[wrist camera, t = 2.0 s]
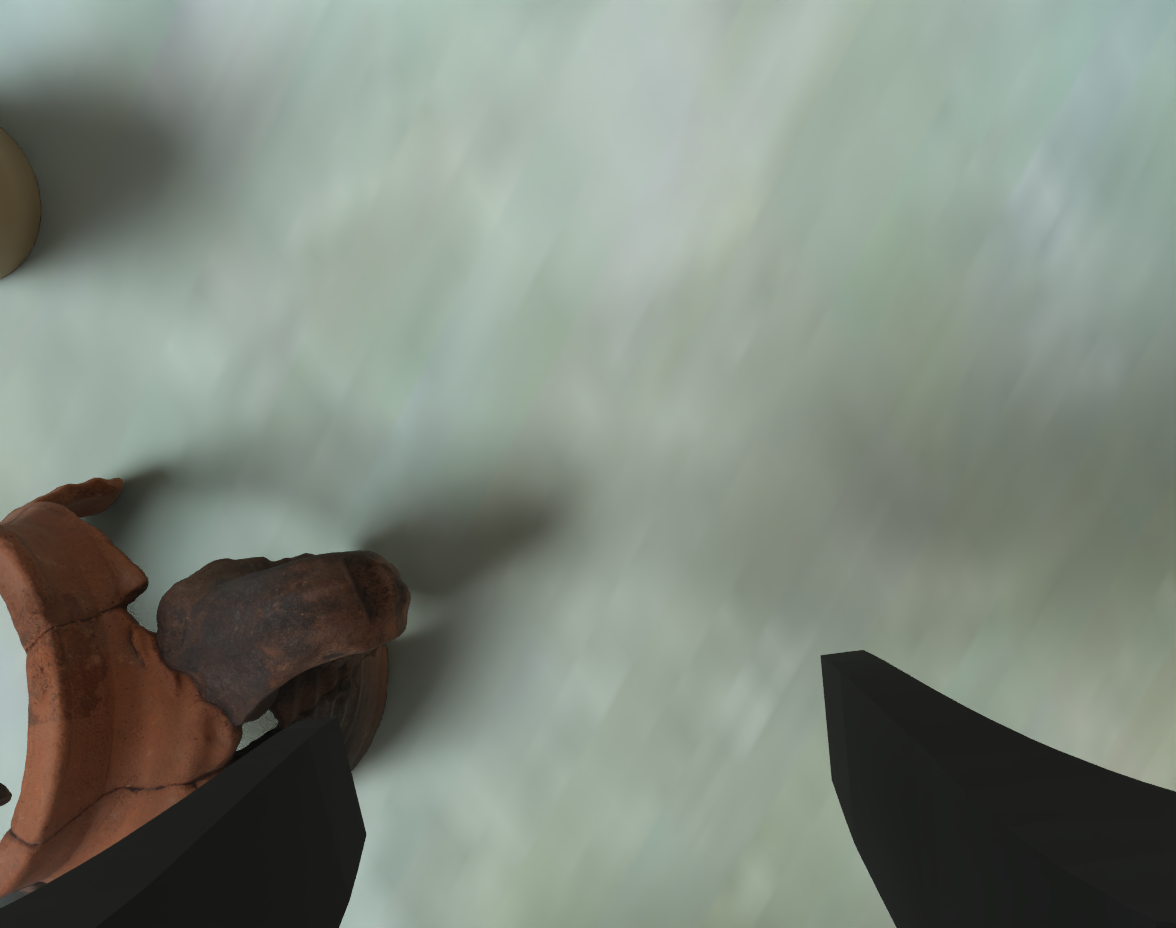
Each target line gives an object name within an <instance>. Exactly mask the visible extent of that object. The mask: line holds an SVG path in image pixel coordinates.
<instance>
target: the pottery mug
mask: <svg viewBox="0 0 1176 928" xmlns="http://www.w3.org/2000/svg"><path fill="white" fill-rule="evenodd" d="M123 485H124V483H123V480H122V479H120V478H113V479H110V480H106V479H102V478H93V479H90V480H88V481H86V482H84V483H81V484H67V485H63V486H60V487H58V488H56V489H54V490H53V491H51V492H50V493H48V494H46V495H44V496H41V497H38V498H36V499H35V500H33V501H31V502H29V503H27V504H26V505H24V506H22V507H20V508H17V509H15V510H13V511H12V512H11V513H9V514H8V515H7V516H6V517H5V518H4V519H3V520H2V521H1V522H0V594H1V596H2V598H3V600H4V601H5V603H6V605H7V608H8V611H9V613H10V615H11V618H12V621H13V624H14V627H15V629H16V630H17V632H18V635H19V638H20V641H21V644H22V646H23V648H24V650H25V651H26V654H27V659H26V672H27V683H28V693H29V707H28V741H27V756H26V763H25V771H24V776H23V781H22V787H21V793H20V797H19V800H18V802H17V805H16V808H15V811H14V815H13V818H12V821H11V828H10V829H9V831H7V832H6V834H5V835H4V837H3V839H2V840H1V842H0V898H2V897H4V896H6V895H9V894H11V893H14V892H16V891H19V892H22V893H24V894H25V895H27V894H29V893H31V892H33V891H35V890H36V889H38V888H40V887H42V886H43V885H45V884H47V883H49V882H51V881H52V880H54V879H56V878H58V877H59V876H61V875H63V874H65V873H67V872H68V871H70V870H72V869H74V868H75V867H77V866H79V865H81V864H82V863H84V862H86V861H87V860H89V859H91V858H92V857H94V856H96V855H97V854H99V853H101V852H102V851H104V850H105V849H107V848H109V847H110V846H112V845H114V844H115V843H117V842H118V841H120V840H121V839H123V838H124V837H126V836H127V835H129V834H130V833H132V832H133V831H135V830H136V829H138V828H139V827H141V826H142V825H144V824H146V823H147V822H149V821H150V820H152V819H153V818H155V817H156V816H158V815H159V814H161V813H162V812H164V811H165V810H167V809H168V808H170V807H171V806H173V805H174V804H176V803H177V802H179V801H180V800H182V799H183V798H185V797H186V796H188V795H189V794H190V793H192V792H193V791H195V790H196V789H198V788H199V787H200V786H202V785H203V784H205V783H206V782H208V781H209V780H210V779H212V778H213V777H215V776H216V775H217V774H219V773H220V772H222V771H223V770H225V769H226V768H227V767H229V766H230V765H232V764H233V763H234V762H236V761H237V760H239V759H240V758H242V757H243V756H244V755H246V754H247V753H249V752H250V751H252V750H253V749H254V748H256V747H257V746H259V745H260V744H262V743H263V742H265V741H266V740H268V739H269V738H271V737H272V736H274V735H275V734H277V733H278V732H280V731H282V730H283V729H285V728H287V727H289V726H290V725H292V724H294V723H296V722H298V721H305V720H312V719H320V718H328V717H336V716H338V720H339V724H340V728H341V732H342V736H343V741H344V745H345V749H346V753H347V757H348V761H349V765H350V769H351V771H352V770H353V769H354V768H355V767H356V765H357V764H358V762H359V761H360V760H361V759H362V757H363V756H364V755H365V753H366V752H367V750H368V748H369V747H370V744H371V742H372V740H373V738H374V735H375V733H376V731H377V729H378V727H379V724H380V722H381V719H382V715H383V712H384V709H385V705H386V698H387V690H386V687H387V681H388V654H387V648H386V646H385V645H384V644H387V643H389V642H391V641H392V640H394V639H396V638H397V637H399V636H400V635H401V634H402V633H403V632H404V631H405V629H406V625H407V613H408V608H409V604H410V592H409V590H408V588H407V586H406V585H405V584H404V583H403V582H402V581H401V578H400V575H399V572H398V570H397V569H396V568H395V566H393V565H392V564H390V563H389V562H388V561H386V560H385V559H384V558H382V557H381V556H380V555H378V554H376V553H374V552H370V551H361V550H358V551H347V552H335V553H326V554H320V555H313V554H308V553H304V554H302V555H299V556H296V557H293V558H284V559H281V560H278V561H270V560H268V559H267V558H265V557H253V558H246V559H238V560H232V559H229V558H225V559H219V560H215V561H213V562H211V563H208V564H207V565H205V566H204V567H203V568H201V569H200V570H198V571H197V572H195V573H194V574H192V575H191V576H189V577H188V578H185V579H183V580H181V581H179V582H177V583H175V584H174V585H173V586H172V587H171V588H170V589H169V590H168V591H167V592H166V593H165V595H164V596H163V597H162V599H161V601H160V603H159V606H158V611H157V618H156V619H157V623H158V624H157V627H158V631H157V633H154V632H151V631H149V630H147V629H145V628H144V627H142V626H140V624H139V623H138V622H137V620H136V619H135V618H134V617H133V616H132V615H131V614H130V613H129V612H128V611H127V606H128V604H129V603H131V602H134V601H135V599H136V598H137V597H138V596H139V595H140V594H142V593H143V592H144V591H145V590H146V589H147V587H148V578H147V577H146V575H145V573H144V572H143V571H142V570H141V569H140V568H139V567H138V566H137V565H136V564H134V563H132V561H131V560H130V559H129V558H128V557H127V556H126V555H125V554H124V553H123V552H122V551H121V550H119V549H118V548H117V547H116V546H114V544H113V543H112V541H111V540H110V539H109V538H108V537H107V536H106V535H105V534H104V533H103V532H102V531H101V530H100V529H98V528H96V527H94V526H92V525H90V524H88V523H86V522H85V521H83V520H82V519H80V518H81V517H85V516H90V515H94V514H98V513H100V512H102V511H104V510H106V509H107V508H109V506H110V505H111V504H112V503H113V502H114V501H115V500H116V499H117V497H118V495H119V494H120V492H121V491H122V489H123ZM268 709H269V710H270V711H271V712H272V713H273V714H274V717H275V718H276V719H277V720H278V721H279V722H278V725H277V726H276V727H275V728H274V729H272V730H270V731H268V732H267V733H265V734H264V735H263V736H261V737H260V738H258V739H257V740H255V741H253V742H251V743H250V744H249V745H248V746H246V747H245V748H243V749H241V750H239V751H236V749H237V747H238V745H239V743H240V741H241V739H242V733H243V732H242V725H243V724H244V723H246V722H249V721H254V720H256V719H258V718H259V717H261V716H262V715H263V714H264V713H265V712H266V711H267V710H268ZM11 797H12V794H11V793H10V791H9V790H8V789H7V788H6V786H4V785H3V784H1V783H0V806H2V805H4V804H6V803H8V802H9V801H10V800H11Z"/></svg>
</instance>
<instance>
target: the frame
mask: <svg viewBox="0 0 1176 928" xmlns="http://www.w3.org/2000/svg"><path fill="white" fill-rule="evenodd" d="M23 896H25V894H24V893H22V892H19V891H16V892H14V893H11V894H9V895H6V896H4V897H2V898H0V908H2V907H4V906H6V905H8V904H10V903H12V902H14V901H16V900H18V899H20V898H22V897H23Z"/></svg>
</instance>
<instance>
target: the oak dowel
mask: <svg viewBox="0 0 1176 928" xmlns="http://www.w3.org/2000/svg"><path fill="white" fill-rule="evenodd" d="M40 220H41V202H40V194H39V189H38V185H37V181H36V178H35V175H34V173H33V170H32V168H31V166H30V164H29V162H28V160H27V158H26V157H25V155H24V153H23V152H22V150H21V149H20V147H19V146H18V145H17V144H16V142H15V141H14V140H13V139H12V138H11V137H10V136H9V134H8V133H7V132H6V131H5V130H4V129H2V128H1V127H0V279H1V278H3V277H5V276H7V275H8V274H10V273H11V272H13V271H14V270H15V269H16V268H18V267H19V266H20V264H21V263H22V262H23V261H24V260H25V259H26V257H27V256H28V254H29V253H30V251H31V250H32V247H33V245H34V243H35V241H36V238H37V235H38V231H39V226H40Z"/></svg>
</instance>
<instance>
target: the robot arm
mask: <svg viewBox="0 0 1176 928" xmlns="http://www.w3.org/2000/svg"><path fill="white" fill-rule="evenodd" d="M821 665H822V676H823V687H824V698H825V709H826V720H827V732H828V743H829V754H830V765H831V776H832V782H833V784H834V787H835V790H836V793H837V796H838V799H839V802H840V805H841V808H842V811H843V813H844V816H845V819H846V822H847V824H848V827H849V830H850V833H851V835H852V838H853V841H854V843H855V845H856V847H857V850H858V852H859V854H860V856H861V858H862V860H863V862H864V864H865V866H866V868H867V870H868V872H869V874H870V876H871V878H872V880H873V882H874V884H875V886H876V888H877V890H878V892H879V894H880V896H881V898H882V900H883V902H884V904H885V906H886V908H887V910H888V912H889V914H890V916H891V918H892V919H893V921H894V923H895V925H896V927H897V928H1176V792H1175V791H1171V790H1168V789H1165V788H1161V787H1158V786H1155V785H1152V784H1148V783H1145V782H1142V781H1139V780H1136V779H1133V778H1130V777H1127V776H1124V775H1121V774H1118V773H1116V772H1113V771H1110V770H1107V769H1105V768H1102V767H1100V766H1097V765H1094V764H1092V763H1089V762H1087V761H1084V760H1081V759H1079V758H1076V757H1074V756H1071V755H1068V754H1066V753H1063V752H1061V751H1058V750H1056V749H1053V748H1051V747H1049V746H1046V745H1044V744H1042V743H1039V742H1037V741H1035V740H1033V739H1030V738H1028V737H1026V736H1024V735H1022V734H1020V733H1018V732H1016V731H1014V730H1011V729H1009V728H1007V727H1005V726H1003V725H1001V724H999V723H997V722H995V721H993V720H990V719H989V718H987V717H985V716H983V715H981V714H979V713H977V712H975V711H973V710H971V709H969V708H967V707H965V706H963V705H962V704H960V703H958V702H956V701H954V700H952V699H950V698H949V697H947V696H945V695H943V694H941V693H939V692H938V691H936V690H934V689H932V688H931V687H929V686H927V685H925V684H924V683H922V682H920V681H918V680H917V679H915V678H913V677H911V676H910V675H908V674H906V673H904V672H903V671H901V670H899V669H897V668H896V667H894V666H892V665H891V664H889V663H887V662H885V661H884V660H882V659H880V658H878V657H876V656H874V655H872V654H870V653H868V652H866V651H864V650H860V651H852V652H844V653H836V654H828V655H821ZM365 838H366V831H365V827H364V823H363V819H362V814H361V810H360V806H359V802H358V798H357V794H356V790H355V786H354V782H353V778H352V773H351V769H350V765H349V761H348V757H347V753H346V749H345V745H344V741H343V736H342V732H341V728H340V724H339V720H338V716H336V717H328V718H320V719H312V720H305V721H298V722H296V723H294V724H292V725H290V726H289V727H287V728H285V729H283V730H282V731H280V732H278V733H277V734H275V735H274V736H272V737H271V738H269V739H268V740H266V741H265V742H263V743H262V744H260V745H259V746H257V747H256V748H254V749H253V750H252V751H250V752H249V753H247V754H246V755H244V756H243V757H242V758H240V759H239V760H237V761H236V762H234V763H233V764H232V765H230V766H229V767H227V768H226V769H225V770H223V771H222V772H220V773H219V774H217V775H216V776H215V777H213V778H212V779H210V780H209V781H208V782H206V783H205V784H203V785H202V786H200V787H199V788H198V789H196V790H195V791H193V792H192V793H190V794H189V795H188V796H186V797H185V798H183V799H182V800H180V801H179V802H177V803H176V804H174V805H173V806H171V807H170V808H168V809H167V810H165V811H164V812H162V813H161V814H159V815H158V816H156V817H155V818H153V819H152V820H150V821H149V822H147V823H146V824H144V825H142V826H141V827H139V828H138V829H136V830H135V831H133V832H132V833H130V834H129V835H127V836H126V837H124V838H123V839H121V840H120V841H118V842H117V843H115V844H114V845H112V846H110V847H109V848H107V849H105V850H104V851H102V852H101V853H99V854H97V855H96V856H94V857H92V858H91V859H89V860H87V861H86V862H84V863H82V864H81V865H79V866H77V867H75V868H74V869H72V870H70V871H68V872H67V873H65V874H63V875H61V876H59V877H58V878H56V879H54V880H52V881H51V882H49V883H47V884H45V885H43V886H42V887H40V888H38V889H36V890H35V891H33V892H31V893H29V894H27V895H25V896H23V897H22V898H20V899H18V900H16V901H14V902H12V903H10V904H8V905H6V906H4V907H2V908H0V928H339V926H340V923H341V921H342V918H343V916H344V913H345V911H346V908H347V905H348V903H349V900H350V897H351V893H352V889H353V886H354V882H355V879H356V875H357V871H358V867H359V863H360V859H361V855H362V851H363V847H364V842H365Z"/></svg>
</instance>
